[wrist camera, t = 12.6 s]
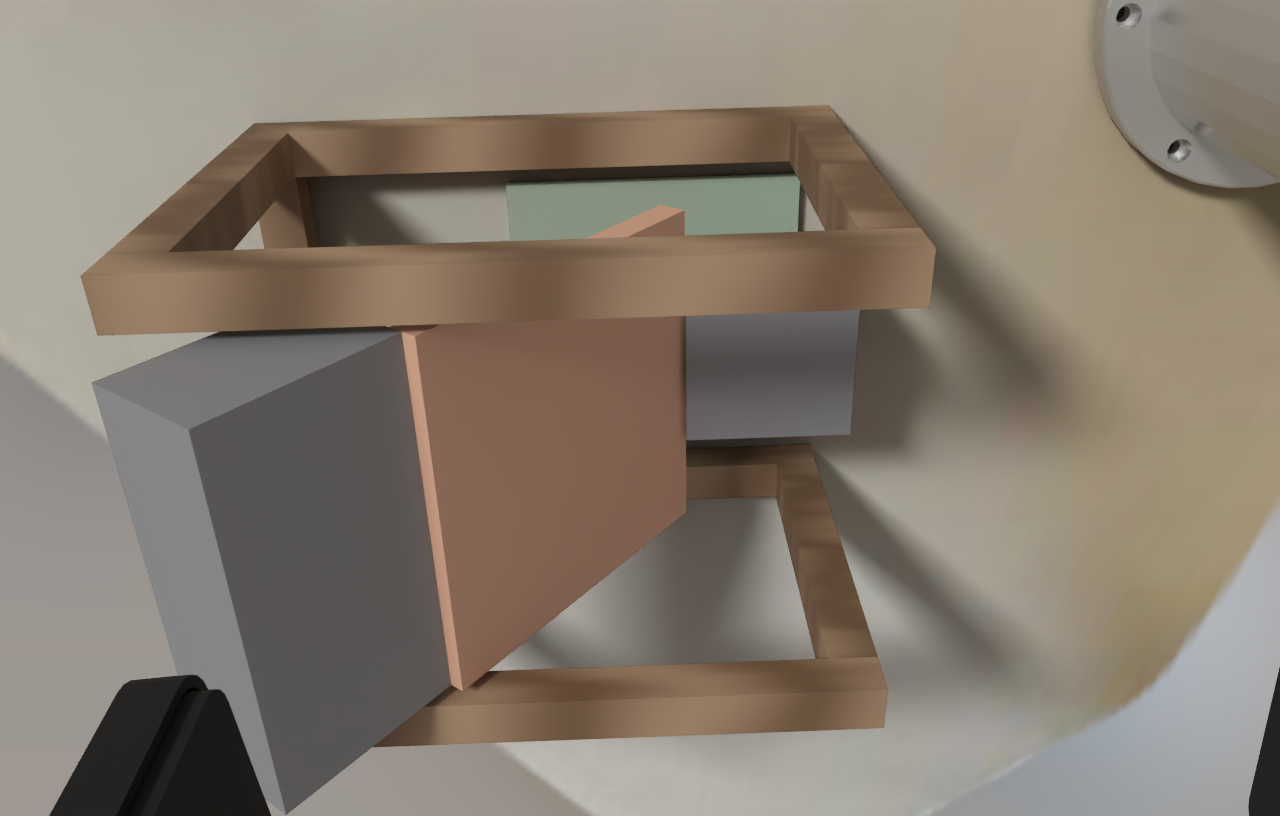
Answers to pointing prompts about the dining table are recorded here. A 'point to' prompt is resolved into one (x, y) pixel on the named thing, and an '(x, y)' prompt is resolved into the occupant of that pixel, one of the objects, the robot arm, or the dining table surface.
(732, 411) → the grey block
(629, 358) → the trapdoor
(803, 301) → the stand
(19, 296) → the dining table surface
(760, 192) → the mat
